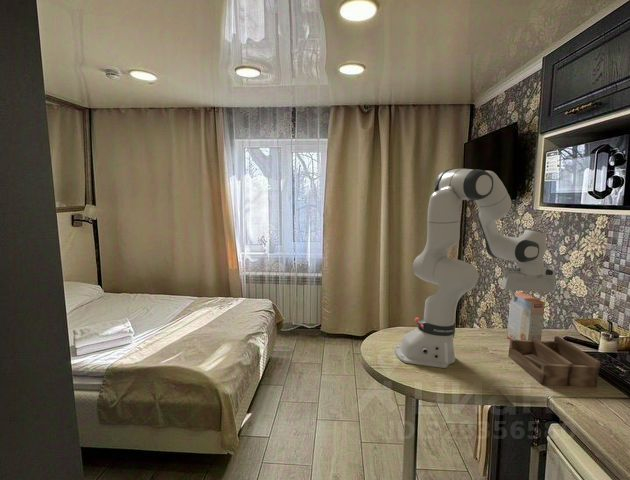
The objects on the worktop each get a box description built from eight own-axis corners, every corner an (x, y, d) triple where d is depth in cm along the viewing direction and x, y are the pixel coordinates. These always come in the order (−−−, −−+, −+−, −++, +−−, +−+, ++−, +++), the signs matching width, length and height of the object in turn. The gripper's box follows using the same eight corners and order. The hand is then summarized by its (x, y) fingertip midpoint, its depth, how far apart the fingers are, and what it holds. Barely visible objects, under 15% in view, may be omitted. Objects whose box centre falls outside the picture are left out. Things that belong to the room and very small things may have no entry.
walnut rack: (541, 388, 113) (545, 359, 112) (507, 359, 133) (510, 334, 131) (595, 390, 113) (600, 361, 112) (554, 361, 133) (557, 336, 131)
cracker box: (540, 351, 140) (546, 302, 137) (526, 351, 140) (531, 302, 137) (519, 337, 154) (523, 292, 151) (506, 337, 154) (510, 292, 151)
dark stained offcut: (543, 371, 118) (543, 365, 118) (522, 360, 126) (523, 355, 125) (552, 369, 119) (553, 364, 119) (531, 359, 127) (532, 354, 127)
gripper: (509, 269, 139) (504, 302, 141) (559, 272, 139) (554, 304, 141) (500, 265, 145) (496, 297, 147) (549, 268, 145) (544, 300, 147)
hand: (525, 301), depth 144 cm, fingers open, 8 cm apart
